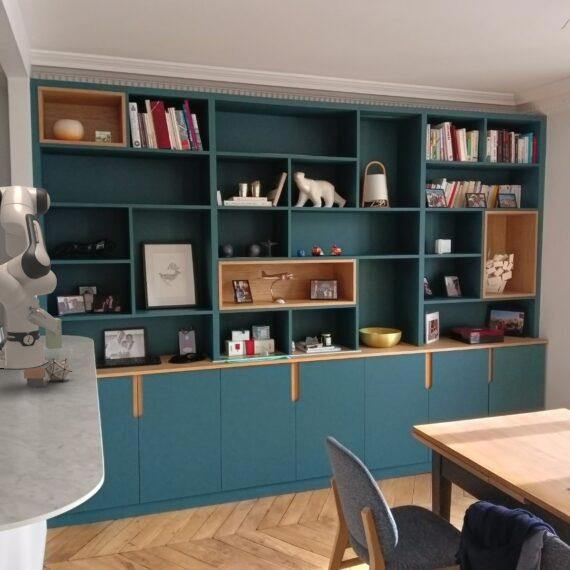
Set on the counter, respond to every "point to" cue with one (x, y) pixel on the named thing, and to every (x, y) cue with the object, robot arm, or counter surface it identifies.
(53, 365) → the game die
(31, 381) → the charcoal brick
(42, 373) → the terracotta brick
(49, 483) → the counter surface
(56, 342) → the green block
